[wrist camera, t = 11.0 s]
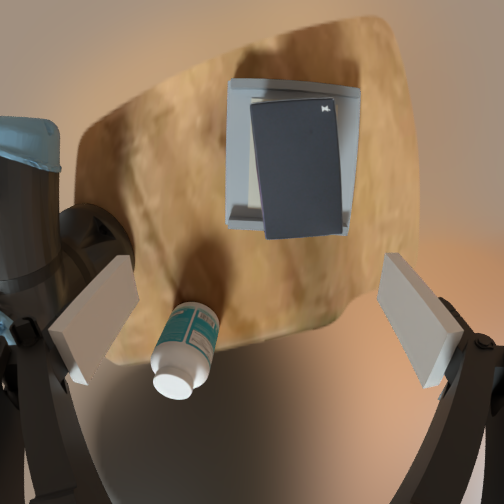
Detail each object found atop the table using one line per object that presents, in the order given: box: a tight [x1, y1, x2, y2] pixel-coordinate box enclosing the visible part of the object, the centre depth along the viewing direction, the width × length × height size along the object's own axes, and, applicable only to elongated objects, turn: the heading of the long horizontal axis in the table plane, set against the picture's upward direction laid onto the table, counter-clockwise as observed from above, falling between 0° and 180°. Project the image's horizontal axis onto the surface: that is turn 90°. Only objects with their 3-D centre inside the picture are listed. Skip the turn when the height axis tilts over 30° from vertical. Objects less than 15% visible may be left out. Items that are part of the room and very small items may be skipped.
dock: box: [225, 78, 361, 236], centre depth 31 cm, size 14×16×4 cm
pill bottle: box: [151, 302, 219, 400], centre depth 37 cm, size 8×7×14 cm
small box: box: [250, 97, 343, 240], centre depth 25 cm, size 11×6×10 cm, turn 7°
